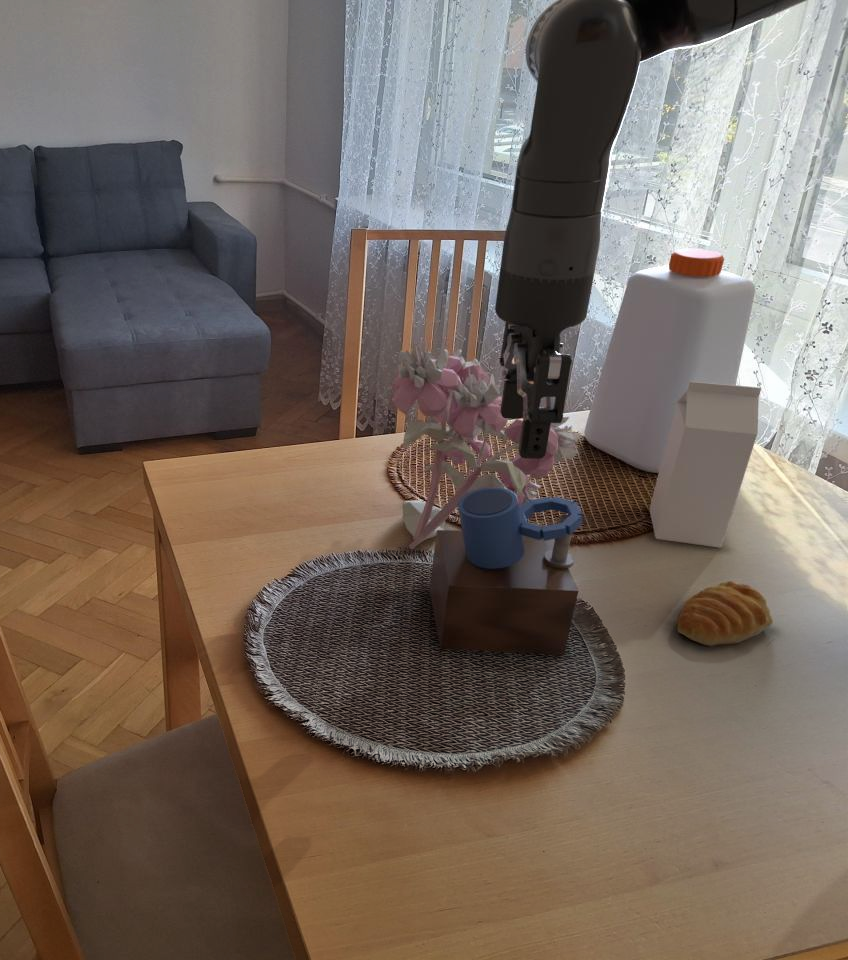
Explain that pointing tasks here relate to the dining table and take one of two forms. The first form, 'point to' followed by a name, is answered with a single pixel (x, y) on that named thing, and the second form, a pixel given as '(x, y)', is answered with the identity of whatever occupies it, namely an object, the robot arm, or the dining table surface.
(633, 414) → the plastic bottle
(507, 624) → the walnut box
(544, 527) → the blue mug
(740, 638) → the pastry
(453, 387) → the flower
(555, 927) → the dining table surface
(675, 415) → the milk carton
